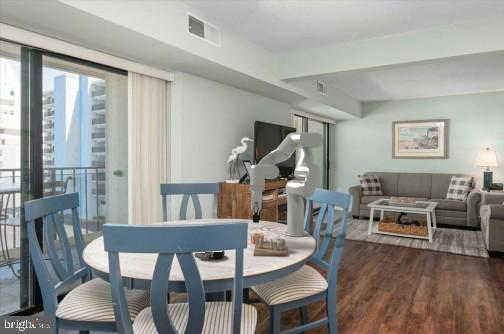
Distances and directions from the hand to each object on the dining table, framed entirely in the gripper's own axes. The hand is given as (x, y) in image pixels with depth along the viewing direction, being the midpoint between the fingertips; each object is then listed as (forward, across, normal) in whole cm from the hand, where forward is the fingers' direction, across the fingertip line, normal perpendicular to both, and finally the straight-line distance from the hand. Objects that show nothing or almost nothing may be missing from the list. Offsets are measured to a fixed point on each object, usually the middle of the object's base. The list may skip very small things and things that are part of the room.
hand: (256, 221), depth 179 cm
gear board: (+11, +15, +8) cm, 21 cm away
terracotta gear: (+11, -1, +1) cm, 11 cm away
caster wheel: (+13, +28, -18) cm, 36 cm away
